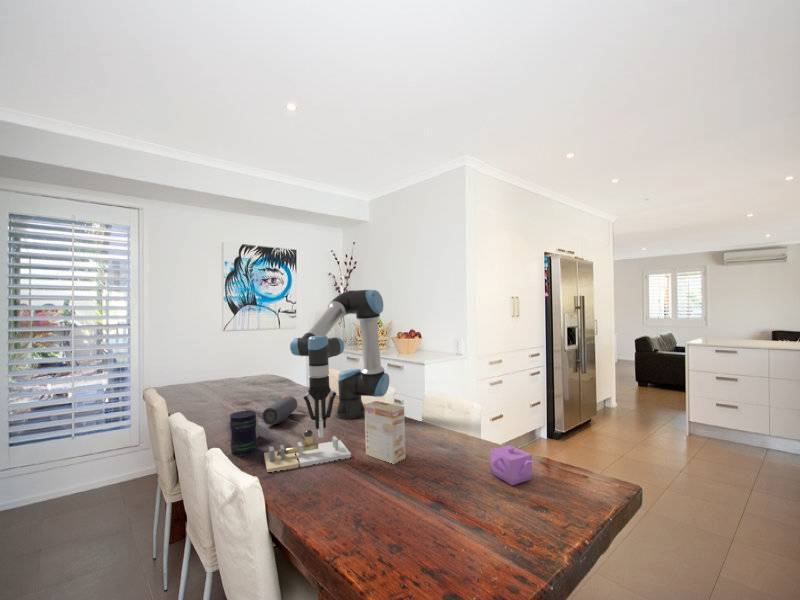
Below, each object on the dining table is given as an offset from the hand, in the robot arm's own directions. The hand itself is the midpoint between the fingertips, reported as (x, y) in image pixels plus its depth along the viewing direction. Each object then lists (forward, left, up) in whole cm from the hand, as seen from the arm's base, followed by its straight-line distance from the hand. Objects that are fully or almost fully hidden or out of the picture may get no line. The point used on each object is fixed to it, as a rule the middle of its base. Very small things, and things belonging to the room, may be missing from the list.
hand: (320, 436), depth 152 cm
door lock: (+6, 0, -7) cm, 9 cm away
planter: (+27, -33, -7) cm, 43 cm away
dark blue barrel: (+28, -18, -7) cm, 34 cm away
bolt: (+9, 0, -5) cm, 10 cm away
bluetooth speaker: (+10, -54, -7) cm, 55 cm away
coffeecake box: (-21, +13, -7) cm, 26 cm away
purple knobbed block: (-51, +49, -7) cm, 72 cm away
